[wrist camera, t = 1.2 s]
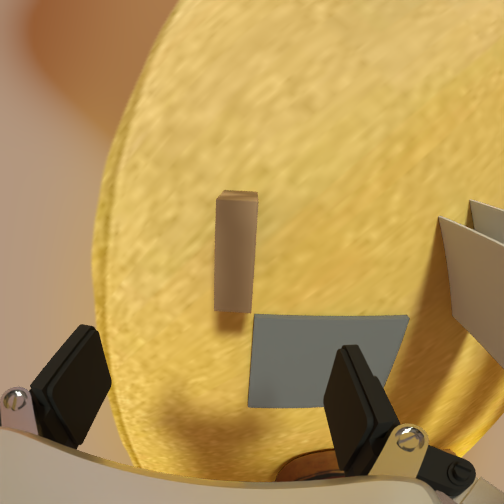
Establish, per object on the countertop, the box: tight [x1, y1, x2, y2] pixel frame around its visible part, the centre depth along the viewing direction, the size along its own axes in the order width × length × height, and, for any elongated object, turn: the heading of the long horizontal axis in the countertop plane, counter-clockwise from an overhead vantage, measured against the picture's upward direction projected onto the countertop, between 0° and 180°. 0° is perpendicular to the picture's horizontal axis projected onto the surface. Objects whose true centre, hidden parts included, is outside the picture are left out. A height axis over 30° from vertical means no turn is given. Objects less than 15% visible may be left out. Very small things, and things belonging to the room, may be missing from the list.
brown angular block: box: [214, 190, 258, 313], centre depth 25 cm, size 3×9×6 cm, turn 177°
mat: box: [248, 314, 410, 408], centre depth 32 cm, size 18×14×1 cm
